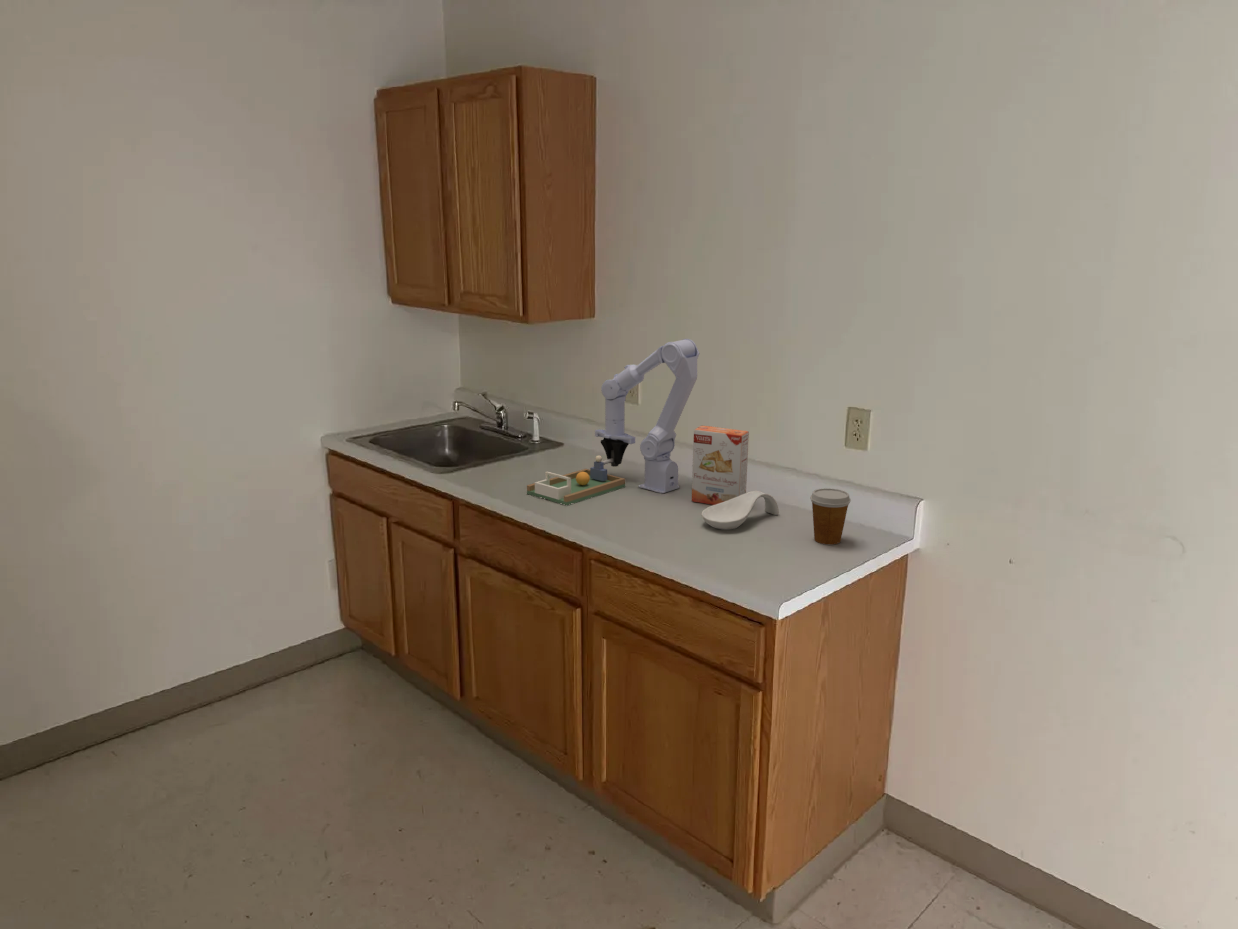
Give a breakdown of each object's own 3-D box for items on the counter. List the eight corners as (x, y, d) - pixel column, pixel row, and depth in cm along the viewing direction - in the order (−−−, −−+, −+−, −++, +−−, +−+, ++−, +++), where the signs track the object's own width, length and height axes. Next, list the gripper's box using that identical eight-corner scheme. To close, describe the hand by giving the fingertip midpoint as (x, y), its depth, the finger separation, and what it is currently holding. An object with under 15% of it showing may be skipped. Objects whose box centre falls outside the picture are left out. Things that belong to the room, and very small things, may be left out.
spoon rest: (724, 537, 221) (725, 510, 219) (691, 525, 230) (692, 498, 228) (788, 519, 235) (790, 493, 233) (755, 507, 244) (757, 482, 242)
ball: (592, 485, 259) (592, 471, 258) (582, 488, 256) (582, 474, 255) (582, 482, 262) (582, 469, 261) (573, 485, 259) (572, 471, 258)
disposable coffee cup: (818, 531, 225) (821, 485, 222) (854, 539, 219) (857, 492, 216) (800, 541, 218) (803, 494, 215) (836, 550, 212) (840, 502, 209)
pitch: (625, 486, 261) (625, 466, 259) (566, 505, 244) (566, 483, 242) (585, 476, 271) (585, 456, 270) (527, 493, 254) (526, 472, 252)
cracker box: (690, 502, 247) (692, 428, 242) (699, 496, 252) (701, 424, 247) (738, 510, 241) (741, 434, 235) (746, 504, 246) (749, 430, 241)
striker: (623, 475, 268) (623, 451, 266) (602, 481, 262) (602, 457, 260) (611, 471, 271) (611, 448, 269) (590, 478, 265) (590, 454, 263)
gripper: (587, 417, 266) (587, 461, 270) (624, 424, 257) (623, 470, 260) (603, 413, 271) (603, 457, 275) (640, 421, 262) (639, 465, 265)
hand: (614, 463), depth 268 cm, fingers closed on striker, 2 cm apart
